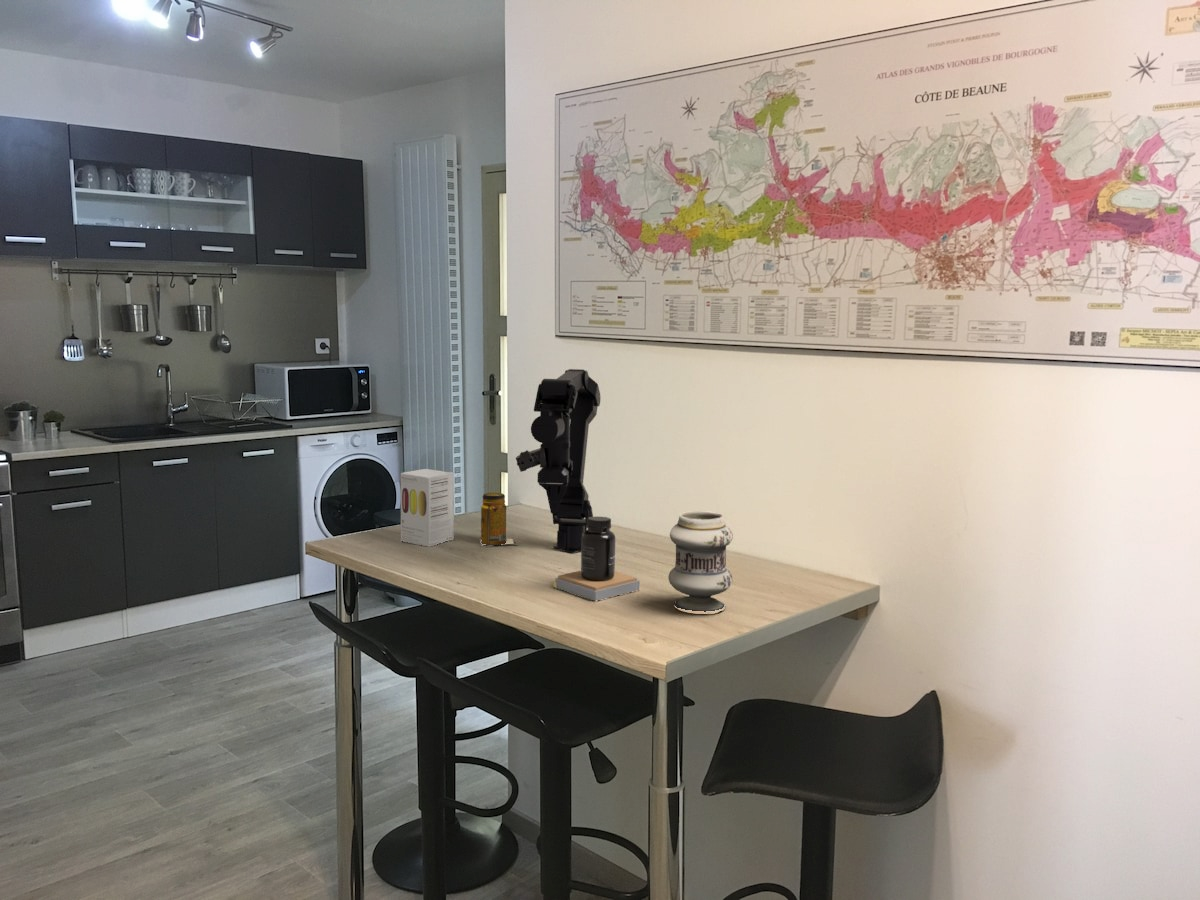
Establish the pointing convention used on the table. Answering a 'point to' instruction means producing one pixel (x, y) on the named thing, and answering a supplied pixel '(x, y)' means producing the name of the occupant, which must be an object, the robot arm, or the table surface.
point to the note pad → (596, 585)
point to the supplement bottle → (598, 550)
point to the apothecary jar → (700, 560)
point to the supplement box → (427, 507)
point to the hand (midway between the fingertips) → (555, 509)
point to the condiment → (493, 519)
